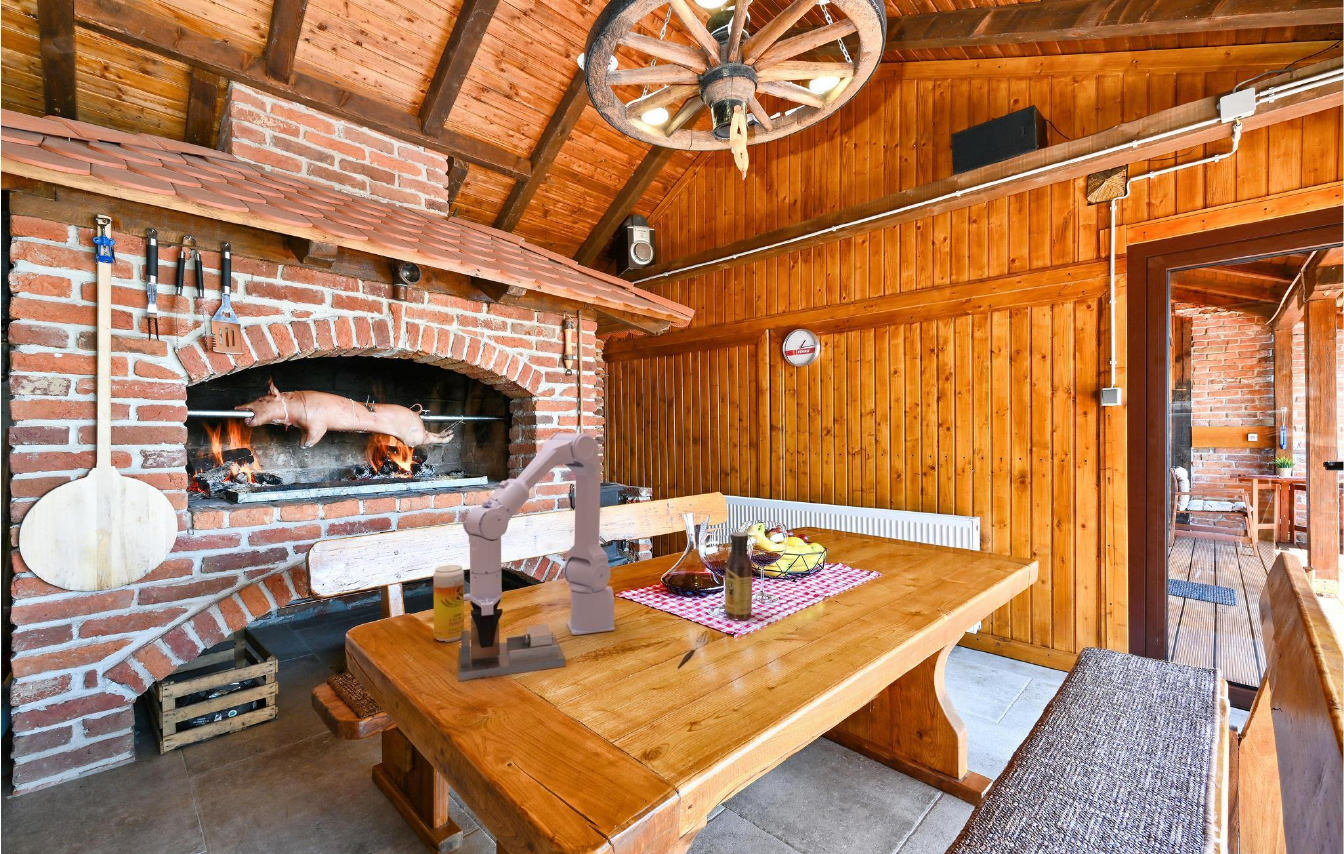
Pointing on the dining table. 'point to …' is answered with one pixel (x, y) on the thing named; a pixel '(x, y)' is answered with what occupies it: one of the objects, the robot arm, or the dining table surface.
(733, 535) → the sauce bottle
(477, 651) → the block
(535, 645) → the ram
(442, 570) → the beer can
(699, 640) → the fork
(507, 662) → the press frame
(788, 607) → the dining table surface
